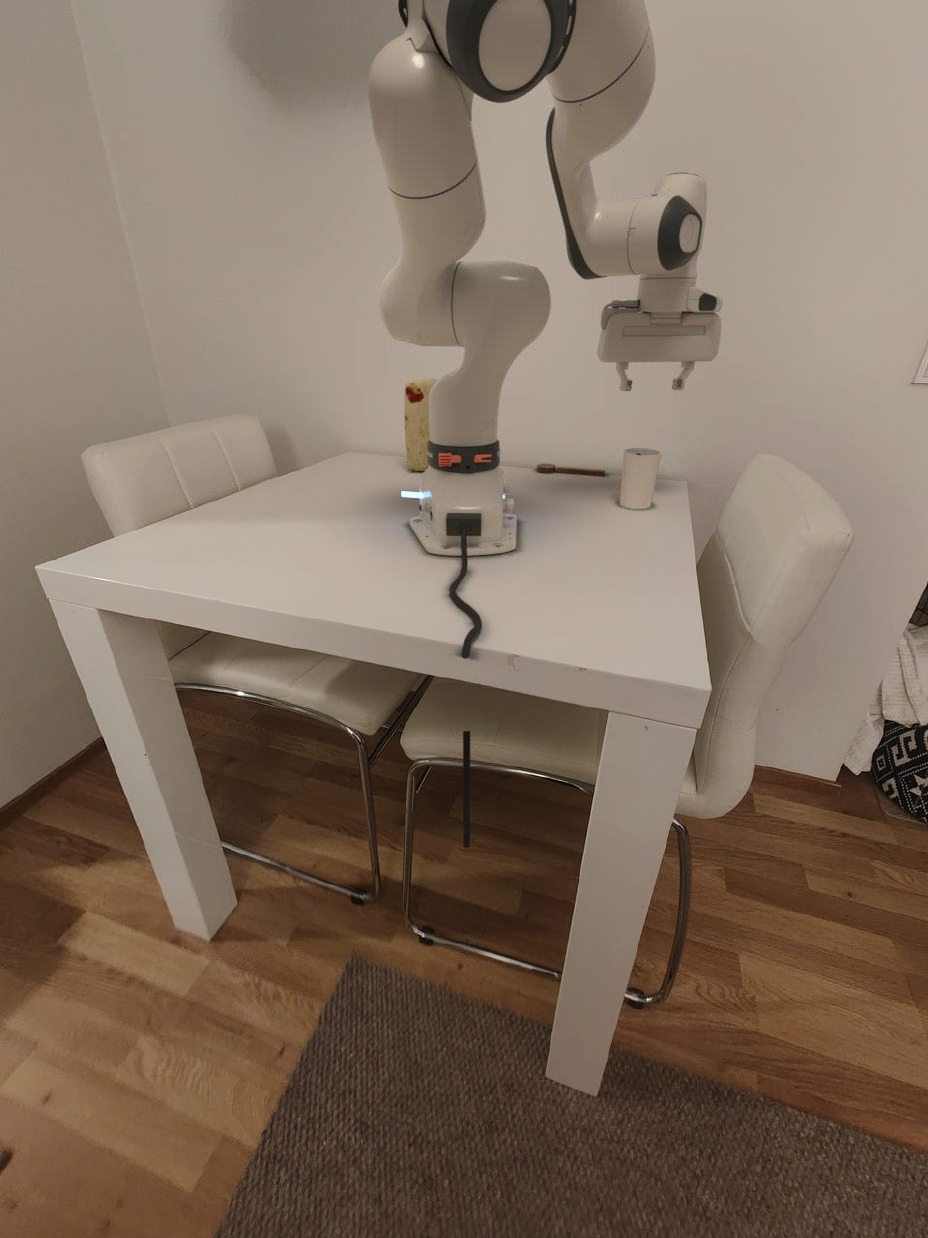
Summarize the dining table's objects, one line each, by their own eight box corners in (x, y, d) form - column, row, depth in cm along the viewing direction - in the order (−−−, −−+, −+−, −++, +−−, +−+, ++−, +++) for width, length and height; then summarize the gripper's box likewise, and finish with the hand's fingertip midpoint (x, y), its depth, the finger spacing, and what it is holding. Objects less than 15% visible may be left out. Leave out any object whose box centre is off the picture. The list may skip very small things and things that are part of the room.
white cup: (611, 505, 109) (617, 452, 105) (627, 497, 114) (634, 446, 109) (643, 511, 105) (651, 457, 101) (658, 504, 110) (667, 451, 105)
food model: (413, 475, 130) (409, 380, 120) (401, 469, 135) (396, 378, 125) (451, 470, 134) (450, 378, 124) (438, 464, 139) (436, 376, 130)
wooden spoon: (605, 472, 131) (606, 467, 131) (603, 477, 128) (604, 472, 127) (538, 467, 136) (539, 462, 135) (534, 472, 132) (535, 466, 132)
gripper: (609, 299, 90) (599, 393, 96) (732, 299, 91) (715, 391, 98) (596, 300, 95) (588, 388, 102) (714, 300, 97) (698, 387, 103)
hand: (651, 390), depth 100 cm, fingers open, 8 cm apart
